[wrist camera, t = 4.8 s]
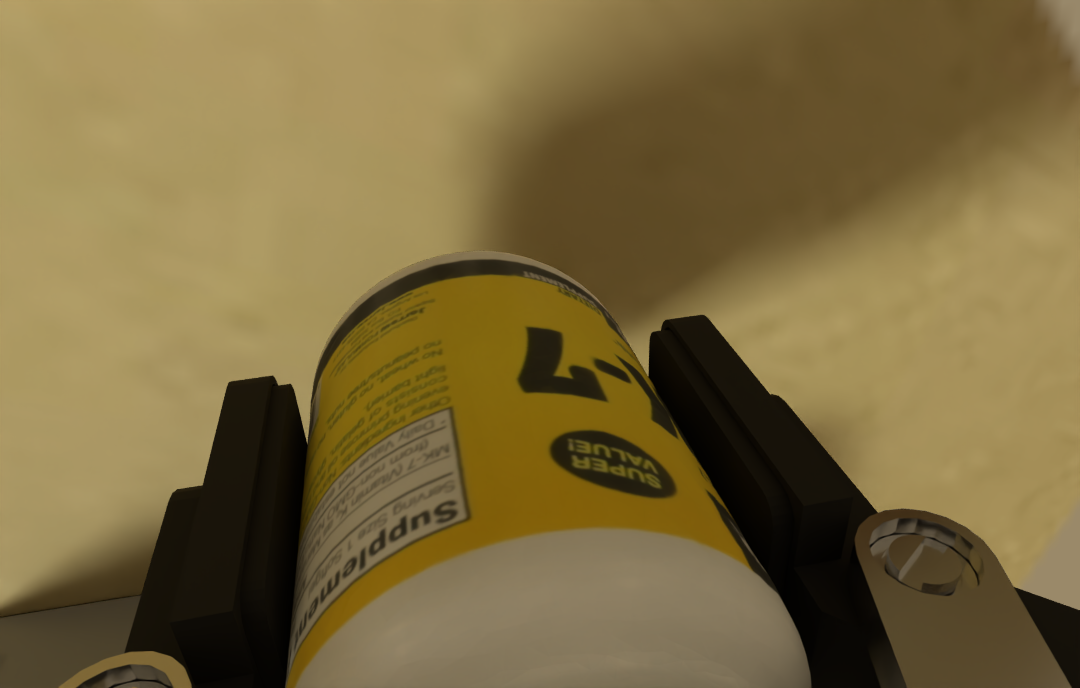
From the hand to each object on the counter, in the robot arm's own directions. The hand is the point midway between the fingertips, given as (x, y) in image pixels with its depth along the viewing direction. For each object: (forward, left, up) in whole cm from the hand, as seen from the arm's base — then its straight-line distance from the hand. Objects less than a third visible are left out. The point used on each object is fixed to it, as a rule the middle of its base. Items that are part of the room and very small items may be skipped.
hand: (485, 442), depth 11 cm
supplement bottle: (0, 0, -2) cm, 2 cm away
